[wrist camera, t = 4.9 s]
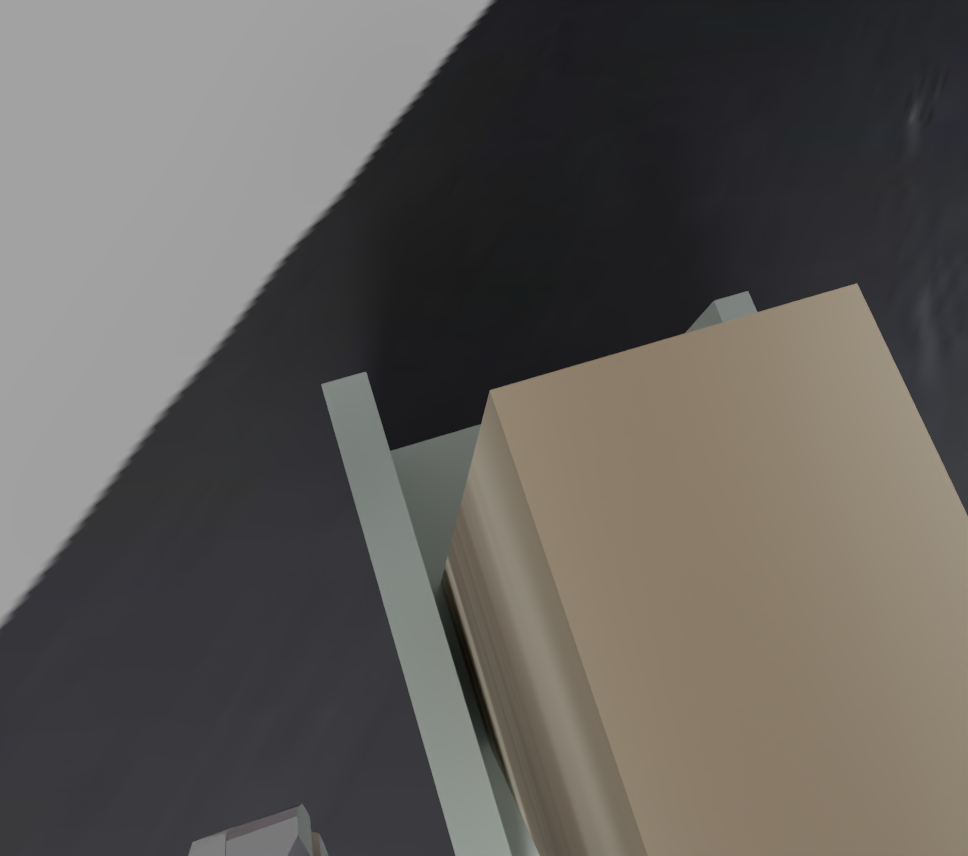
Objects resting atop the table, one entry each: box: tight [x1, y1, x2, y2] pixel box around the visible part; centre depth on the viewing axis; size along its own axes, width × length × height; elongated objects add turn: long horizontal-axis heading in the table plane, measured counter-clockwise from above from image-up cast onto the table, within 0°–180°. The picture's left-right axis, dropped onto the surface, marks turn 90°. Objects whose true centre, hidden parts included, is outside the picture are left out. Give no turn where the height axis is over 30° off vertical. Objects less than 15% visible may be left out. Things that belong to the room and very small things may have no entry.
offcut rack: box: [321, 291, 757, 856], centre depth 20 cm, size 12×14×10 cm
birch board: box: [441, 284, 968, 856], centre depth 13 cm, size 2×5×20 cm, turn 18°
